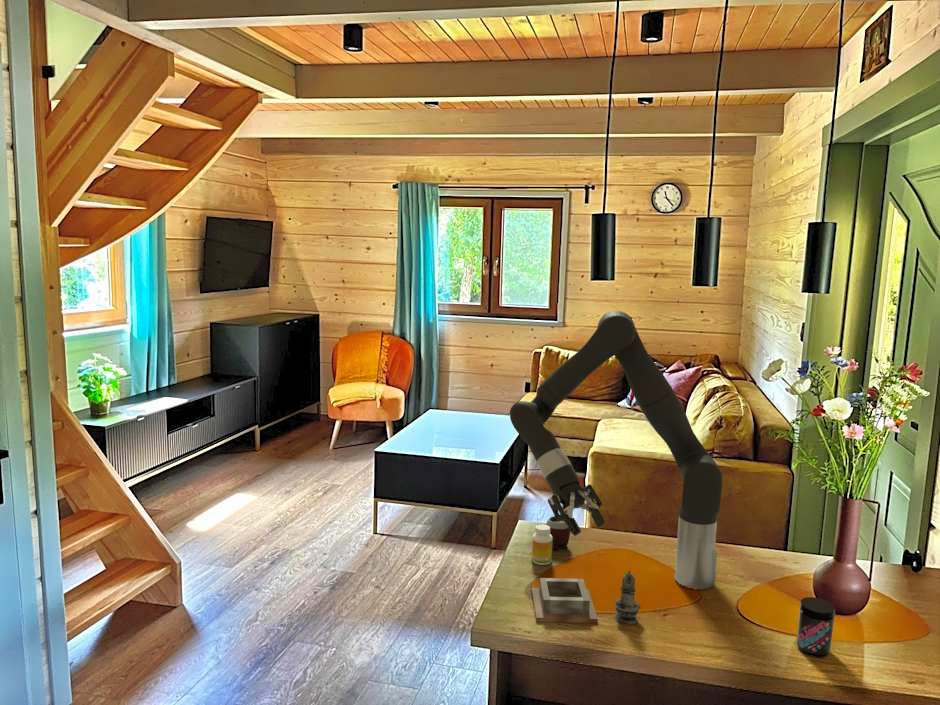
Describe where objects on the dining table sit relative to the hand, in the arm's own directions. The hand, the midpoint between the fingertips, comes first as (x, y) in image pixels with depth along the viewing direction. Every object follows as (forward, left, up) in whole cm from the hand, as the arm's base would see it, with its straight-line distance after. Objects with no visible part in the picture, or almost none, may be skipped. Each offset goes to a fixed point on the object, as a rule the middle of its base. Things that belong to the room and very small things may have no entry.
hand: (590, 529), depth 173 cm
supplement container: (-46, +20, -18) cm, 53 cm away
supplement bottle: (+9, -20, -18) cm, 28 cm away
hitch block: (+6, +4, -18) cm, 19 cm away
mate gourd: (+4, -30, -18) cm, 35 cm away
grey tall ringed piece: (-8, +9, -18) cm, 22 cm away
